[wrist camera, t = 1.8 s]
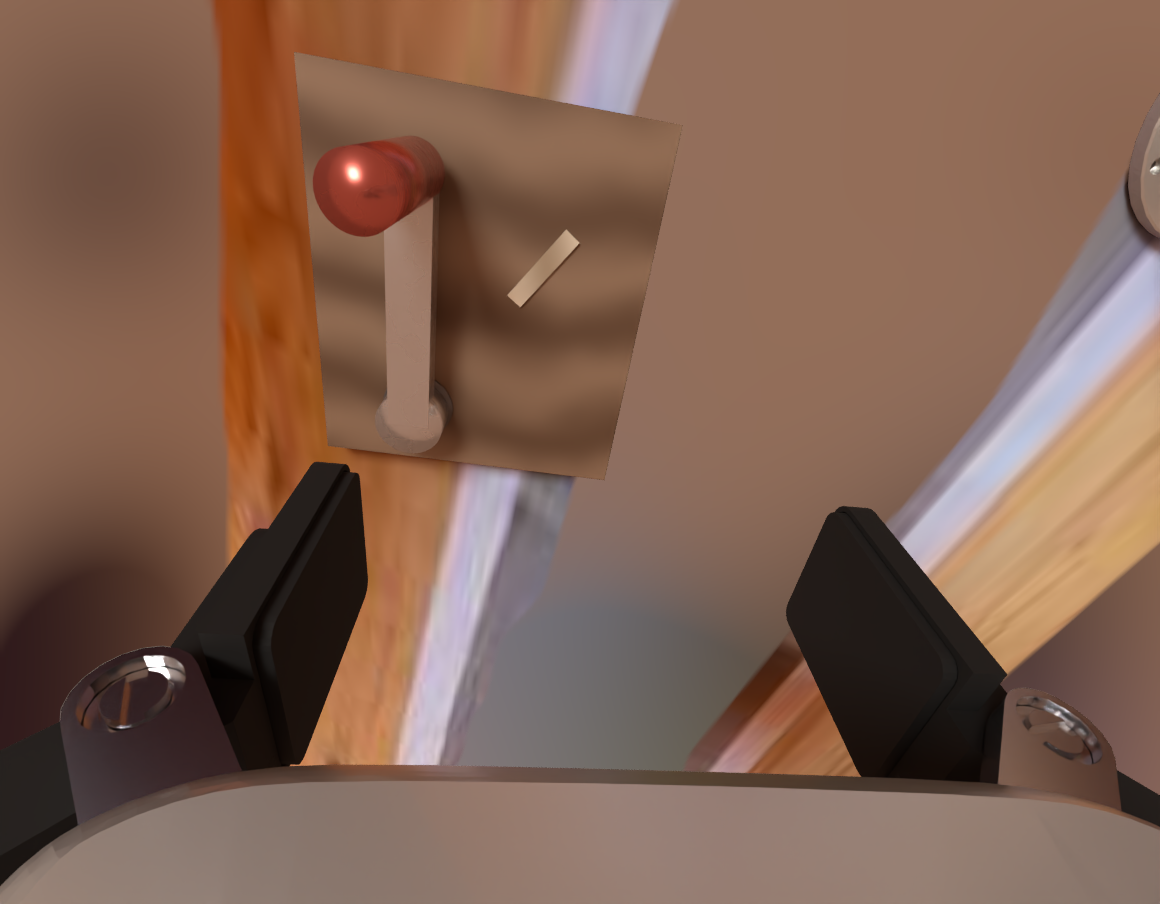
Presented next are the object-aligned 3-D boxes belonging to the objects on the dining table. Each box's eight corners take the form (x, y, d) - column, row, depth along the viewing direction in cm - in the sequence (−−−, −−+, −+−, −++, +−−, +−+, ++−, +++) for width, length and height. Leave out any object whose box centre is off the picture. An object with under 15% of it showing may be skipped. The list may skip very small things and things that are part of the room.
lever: (378, 127, 28) (293, 136, 19) (459, 142, 28) (412, 156, 20) (385, 431, 37) (330, 529, 28) (447, 439, 37) (410, 538, 29)
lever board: (310, 55, 28) (292, 51, 26) (676, 124, 30) (683, 125, 28) (338, 431, 40) (327, 447, 38) (602, 464, 41) (604, 481, 40)
